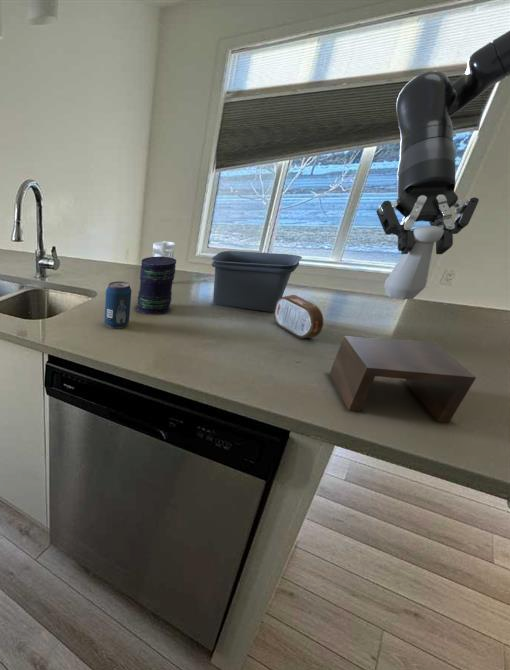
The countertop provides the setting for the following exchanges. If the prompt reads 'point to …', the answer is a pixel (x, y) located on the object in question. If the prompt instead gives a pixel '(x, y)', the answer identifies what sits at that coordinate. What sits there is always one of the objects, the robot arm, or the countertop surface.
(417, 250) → the salt shaker
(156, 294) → the storage jar
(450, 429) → the countertop surface
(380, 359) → the shelf
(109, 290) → the soda can
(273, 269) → the storage bin
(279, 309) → the tin
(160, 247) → the strainer
